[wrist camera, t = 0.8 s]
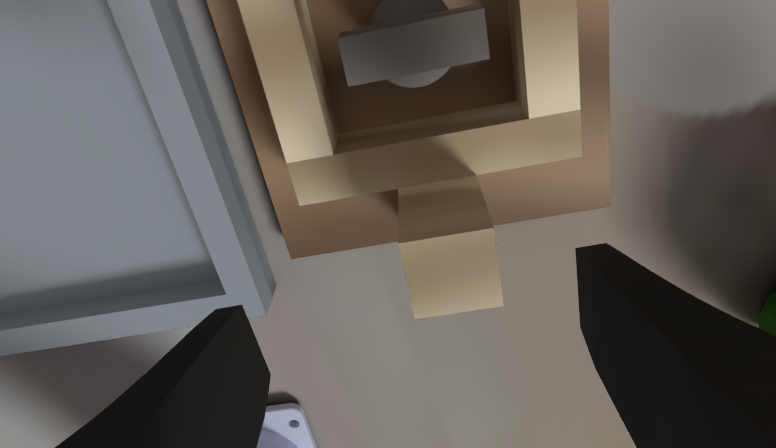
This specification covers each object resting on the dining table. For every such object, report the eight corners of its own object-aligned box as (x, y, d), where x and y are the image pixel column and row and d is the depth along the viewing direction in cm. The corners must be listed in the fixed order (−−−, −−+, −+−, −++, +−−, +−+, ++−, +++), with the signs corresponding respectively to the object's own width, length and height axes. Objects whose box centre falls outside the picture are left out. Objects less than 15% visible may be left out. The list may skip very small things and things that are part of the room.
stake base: (601, 194, 21) (657, 265, 16) (295, 245, 22) (269, 324, 17) (593, -192, 15) (674, -244, 11) (187, -95, 16) (109, -106, 12)
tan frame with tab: (568, 200, 20) (623, 288, 15) (325, 241, 21) (303, 335, 16) (548, -186, 14) (624, -247, 10) (224, -108, 15) (145, -128, 11)
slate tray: (276, 285, 23) (265, 315, 21) (-36, 335, 24) (-69, 366, 23) (137, -111, 16) (105, -116, 15) (-277, -10, 18) (-352, -3, 16)
